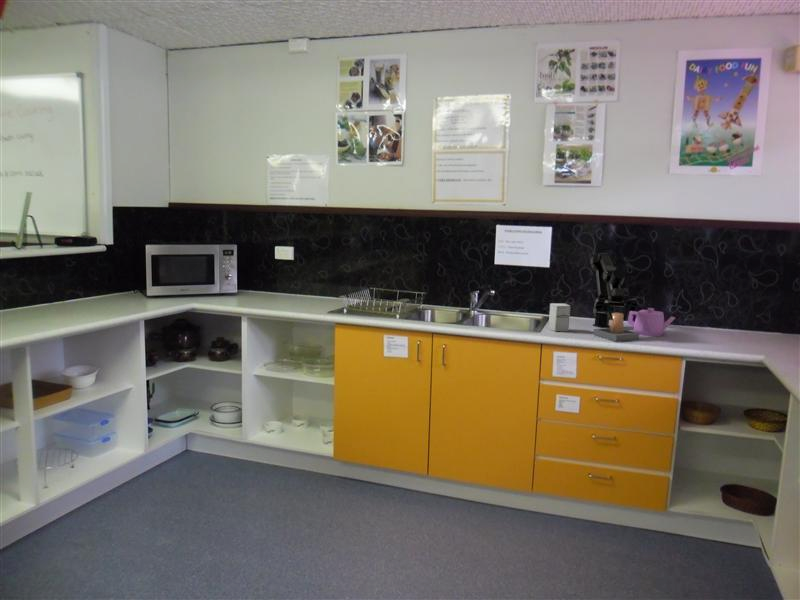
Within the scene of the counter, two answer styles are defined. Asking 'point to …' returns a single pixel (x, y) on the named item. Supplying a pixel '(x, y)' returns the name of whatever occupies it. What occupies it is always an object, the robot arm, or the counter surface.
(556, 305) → the grey box
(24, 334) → the counter surface
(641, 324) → the teakettle
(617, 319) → the orange-brown rounded cylinder
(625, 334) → the tray
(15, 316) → the counter surface
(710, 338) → the counter surface
